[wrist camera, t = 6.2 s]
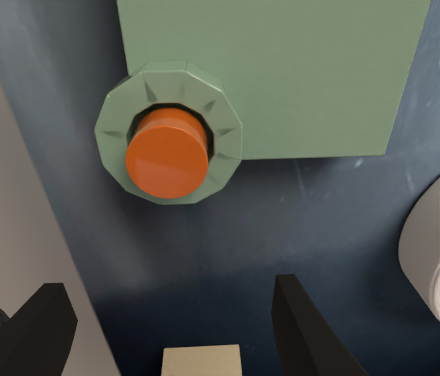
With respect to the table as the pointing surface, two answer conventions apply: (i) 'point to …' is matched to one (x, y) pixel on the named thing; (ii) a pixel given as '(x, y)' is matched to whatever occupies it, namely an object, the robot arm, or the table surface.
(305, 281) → the table surface
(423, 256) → the round zippered pouch
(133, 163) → the push button
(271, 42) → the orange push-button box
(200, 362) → the beige rotary knob box
